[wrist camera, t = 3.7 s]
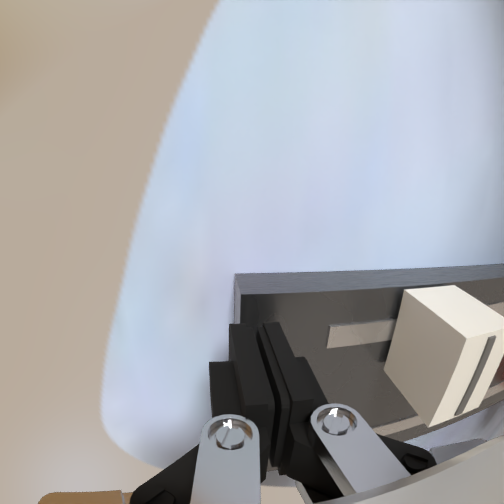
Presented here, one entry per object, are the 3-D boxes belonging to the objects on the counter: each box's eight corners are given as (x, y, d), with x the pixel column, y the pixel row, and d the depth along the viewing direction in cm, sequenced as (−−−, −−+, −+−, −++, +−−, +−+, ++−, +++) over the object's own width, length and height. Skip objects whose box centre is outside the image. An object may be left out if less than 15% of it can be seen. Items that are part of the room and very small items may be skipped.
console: (234, 273, 13) (241, 296, 11) (578, 258, 18) (594, 266, 16) (232, 448, 16) (237, 476, 14) (544, 358, 21) (557, 368, 19)
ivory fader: (403, 289, 12) (468, 339, 8) (454, 284, 12) (516, 325, 9) (383, 369, 13) (429, 429, 9) (432, 359, 14) (480, 408, 10)
